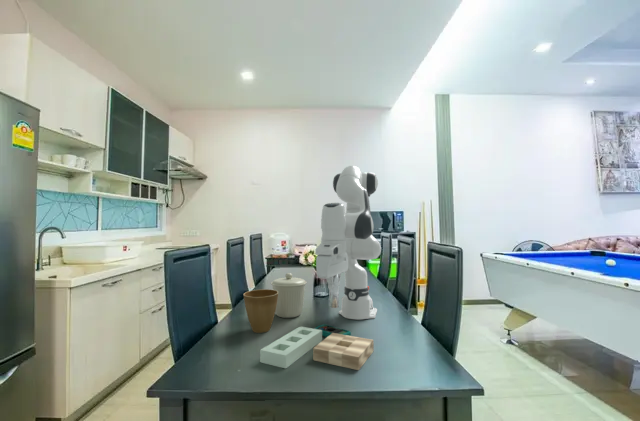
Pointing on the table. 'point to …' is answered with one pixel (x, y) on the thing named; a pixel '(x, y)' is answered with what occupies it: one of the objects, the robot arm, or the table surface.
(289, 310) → the canister
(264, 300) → the plant pot
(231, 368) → the table surface
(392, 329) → the table surface
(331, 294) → the steel peg
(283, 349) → the block
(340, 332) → the digital multimeter
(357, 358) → the socket block
